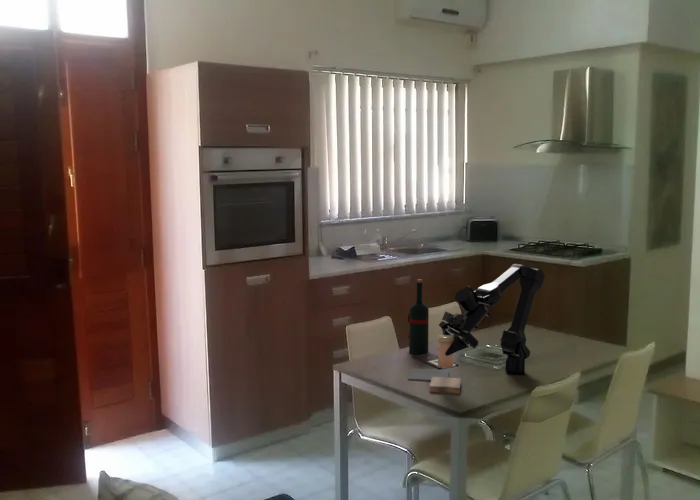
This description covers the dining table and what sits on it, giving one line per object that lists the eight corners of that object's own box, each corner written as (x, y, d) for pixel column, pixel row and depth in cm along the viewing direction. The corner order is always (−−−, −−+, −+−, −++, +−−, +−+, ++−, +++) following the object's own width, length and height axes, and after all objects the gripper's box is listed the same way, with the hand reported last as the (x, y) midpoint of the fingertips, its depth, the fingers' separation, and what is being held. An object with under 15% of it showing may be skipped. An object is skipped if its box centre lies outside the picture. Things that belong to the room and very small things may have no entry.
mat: (449, 371, 248) (449, 370, 248) (447, 382, 236) (447, 380, 236) (411, 369, 250) (411, 368, 250) (407, 379, 238) (407, 378, 238)
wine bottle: (416, 347, 280) (417, 276, 276) (432, 353, 272) (433, 279, 268) (401, 350, 275) (402, 278, 272) (417, 356, 267) (418, 281, 263)
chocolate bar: (429, 352, 270) (458, 364, 255) (429, 355, 270) (458, 366, 255) (411, 356, 266) (439, 367, 250) (411, 358, 266) (439, 370, 251)
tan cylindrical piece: (454, 363, 232) (454, 335, 230) (453, 368, 226) (454, 339, 225) (437, 362, 233) (438, 334, 231) (436, 367, 227) (437, 338, 226)
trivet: (460, 383, 234) (460, 378, 234) (459, 393, 224) (459, 387, 224) (431, 382, 236) (431, 376, 236) (429, 391, 226) (429, 386, 226)
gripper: (444, 298, 236) (415, 331, 234) (470, 309, 219) (439, 345, 217) (463, 318, 240) (435, 351, 238) (491, 330, 223) (461, 366, 221)
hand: (442, 352), depth 228 cm, fingers closed on tan cylindrical piece, 5 cm apart
